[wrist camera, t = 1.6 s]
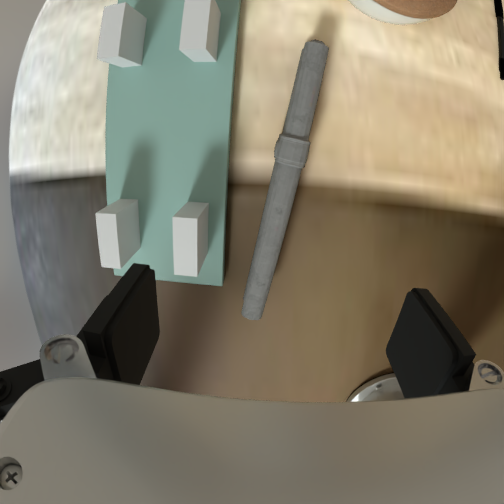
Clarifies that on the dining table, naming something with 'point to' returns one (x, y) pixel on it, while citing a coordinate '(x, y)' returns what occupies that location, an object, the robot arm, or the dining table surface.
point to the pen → (500, 35)
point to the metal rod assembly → (285, 176)
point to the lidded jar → (403, 10)
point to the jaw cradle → (168, 136)
